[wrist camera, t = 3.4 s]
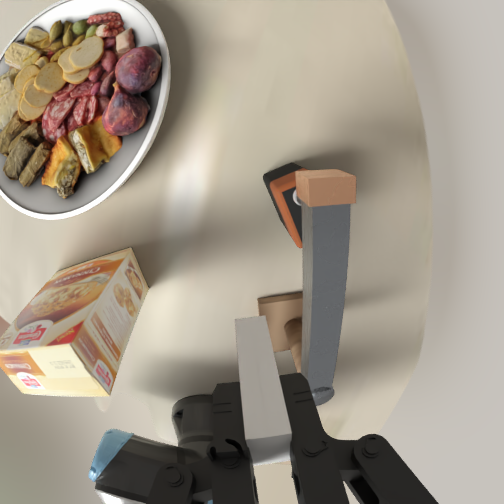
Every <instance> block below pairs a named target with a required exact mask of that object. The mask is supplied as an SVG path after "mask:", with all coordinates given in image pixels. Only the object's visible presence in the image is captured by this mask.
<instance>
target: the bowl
mask: <svg viewBox="0 0 504 504" xmlns="http://www.w3.org/2000/svg"><path fill="white" fill-rule="evenodd" d="M170 80H171V66H170V56H169V51H168V46H167V43H166V40H165V37H164V34H163V32H162V30H161V28H160V26H159V24H158V23H157V21H156V20H155V18H154V17H153V15H152V14H151V13H150V12H149V11H148V10H147V9H146V8H145V7H144V6H143V5H142V4H140V3H139V2H138V1H136V0H60V1H58V2H56V3H54V4H52V5H50V6H49V7H47V8H45V9H44V10H42V11H41V12H40V13H38V14H37V15H36V16H34V17H33V18H32V19H31V20H30V21H28V22H27V23H26V24H25V25H24V26H23V27H22V28H21V29H20V30H19V31H18V32H17V33H16V35H15V36H14V37H13V38H12V39H11V41H10V42H9V43H8V45H7V46H6V48H5V49H4V51H3V52H2V54H1V55H0V195H1V196H2V197H3V198H4V199H5V200H6V201H7V202H8V203H9V204H10V205H11V206H13V207H14V208H16V209H17V210H19V211H20V212H22V213H24V214H27V215H29V216H32V217H35V218H39V219H48V220H57V219H64V218H69V217H73V216H76V215H79V214H81V213H84V212H86V211H88V210H90V209H92V208H93V207H95V206H97V205H98V204H100V203H101V202H103V201H104V200H105V199H107V198H108V197H109V196H111V195H112V194H113V193H114V192H115V191H117V190H118V189H119V188H120V187H121V186H122V185H123V184H124V183H125V182H126V181H127V180H128V178H129V177H130V176H131V175H132V174H133V173H134V171H135V170H136V169H137V167H138V166H139V165H140V163H141V162H142V160H143V159H144V157H145V156H146V154H147V152H148V151H149V149H150V147H151V145H152V143H153V141H154V139H155V137H156V135H157V133H158V130H159V128H160V125H161V123H162V120H163V117H164V114H165V110H166V106H167V102H168V97H169V90H170Z"/></svg>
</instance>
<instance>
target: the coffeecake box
mask: <svg viewBox="0 0 504 504" xmlns="http://www.w3.org/2000/svg"><path fill="white" fill-rule="evenodd" d="M148 290H149V288H148V286H147V283H146V281H145V279H144V277H143V274H142V272H141V270H140V267H139V265H138V262H137V259H136V257H135V255H134V252H133V250H132V248H127V249H124V250H121V251H117V252H114V253H111V254H108V255H105V256H102V257H99V258H96V259H93V260H89V261H86V262H84V263H81V264H78V265H75V266H72V267H69V268H66V269H63V270H61V271H58V272H56V273H55V274H54V276H53V277H52V278H51V279H50V280H49V281H48V282H47V283H46V284H45V285H44V287H43V288H42V289H41V290H40V291H39V292H38V293H37V294H36V295H35V297H34V298H33V299H32V300H31V301H30V302H29V304H28V305H27V306H26V307H25V308H24V309H23V311H22V312H21V313H20V314H19V315H18V317H17V318H16V319H15V320H14V321H13V323H12V324H11V325H10V327H9V328H8V329H7V330H6V332H5V333H4V334H3V336H2V337H1V338H0V367H1V368H2V369H3V371H4V372H5V373H6V374H7V375H8V376H9V378H10V379H11V380H12V382H13V383H14V384H15V385H16V386H17V387H18V388H19V390H20V391H21V392H22V393H23V394H24V393H25V394H36V395H50V396H81V397H82V396H83V397H89V396H90V397H94V396H110V395H111V391H112V387H113V384H114V381H115V378H116V375H117V372H118V369H119V366H120V363H121V360H122V357H123V354H124V352H125V349H126V346H127V343H128V341H129V338H130V335H131V333H132V330H133V327H134V325H135V322H136V320H137V317H138V314H139V312H140V309H141V307H142V304H143V302H144V300H145V297H146V295H147V292H148Z"/></svg>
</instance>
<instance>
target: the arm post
mask: <svg viewBox="0 0 504 504" xmlns="http://www.w3.org/2000/svg"><path fill="white" fill-rule="evenodd" d="M258 309H259V316H266V321H267V325H268V330H269V334H270V339H271V343H272V348H273V352H279V351H285V350H291V353H292V356H293V360H294V363H295V366H296V370H297V373H299V372H300V373H301V352H302V314H303V292H302V293H295V294H288V295H281V296H274V297H267V298H259V299H258Z"/></svg>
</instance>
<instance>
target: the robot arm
mask: <svg viewBox="0 0 504 504" xmlns="http://www.w3.org/2000/svg"><path fill="white" fill-rule="evenodd" d="M235 329H236V342H237V354H238V366H239V377H240V382H232V383H222V384H217V386H216V388H215V390H214V392H213V396H209V395H198V396H191V397H187V398H184V399H182V400H180V401H178V402H177V403H176V404H175V405H174V406H173V409H172V422H173V425H174V429H175V432H176V435H177V438H178V447H176V446H173V445H169V444H165V443H160V442H157V441H154V440H150V439H146V438H143V437H140V436H137V435H134V433H127V432H124V431H120V430H117V429H110V430H107V431H106V432H105V434H104V436H103V437H102V440H101V442H100V444H99V446H98V449H97V451H96V454H95V456H94V459H93V462H92V466H91V469H90V471H89V478H90V479H91V480H92V481H93V482H95V481H96V486H95V491H96V493H97V494H98V496H99V497H100V498H101V500H102V504H259V501H258V494H257V487H256V479H255V476H254V468H253V465H261V464H270V463H277V462H283V461H289V460H291V465H292V478H293V480H294V485H295V489H296V494H297V499H298V504H349V500H348V497H347V494H346V491H345V487H344V484H343V481H345V483H346V484H347V486H348V487H349V489H350V490H351V492H352V493H353V495H354V496H355V497H356V499H357V500H358V502H359V503H360V504H438V502H437V501H436V500H435V499H434V497H433V496H432V495H431V494H430V493H429V491H428V490H427V489H426V488H425V487H424V485H423V484H422V483H421V482H420V481H419V480H418V478H417V477H416V476H415V475H414V473H413V472H412V471H411V470H410V468H409V467H408V466H407V465H406V464H405V462H404V461H403V460H402V459H401V457H400V456H399V455H398V454H397V453H396V451H395V450H394V449H393V448H392V446H391V445H390V444H389V443H388V441H387V440H386V439H385V438H383V437H382V436H380V435H377V434H368V435H365V436H363V437H361V438H360V439H359V440H338V439H334V438H332V437H330V436H329V435H327V433H326V432H325V431H324V429H323V427H322V424H321V421H320V417H319V414H318V411H317V408H316V405H315V402H314V399H313V395H312V392H311V389H310V386H309V383H308V380H307V379H306V378H305V377H304V376H303V375H302V374H301V373H300V372H299V373H293V374H288V375H281V376H279V374H278V370H277V365H276V361H275V356H274V352H273V348H272V343H271V339H270V334H269V330H268V325H267V321H266V316H258V317H250V318H242V319H235Z"/></svg>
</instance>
